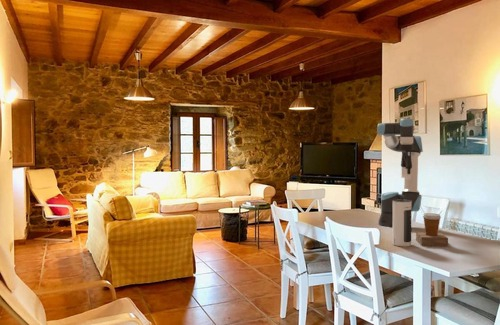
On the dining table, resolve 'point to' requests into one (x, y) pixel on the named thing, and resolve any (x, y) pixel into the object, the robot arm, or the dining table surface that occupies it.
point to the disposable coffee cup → (431, 223)
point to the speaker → (402, 222)
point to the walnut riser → (431, 240)
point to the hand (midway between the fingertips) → (406, 178)
